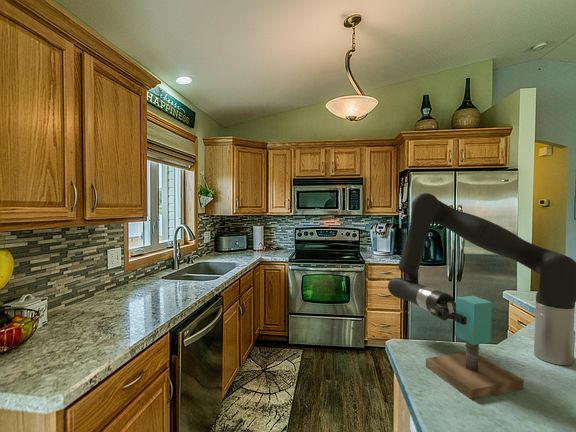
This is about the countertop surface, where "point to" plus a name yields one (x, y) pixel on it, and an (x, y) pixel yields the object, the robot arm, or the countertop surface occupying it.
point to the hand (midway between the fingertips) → (478, 319)
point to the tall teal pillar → (474, 319)
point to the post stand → (474, 373)
